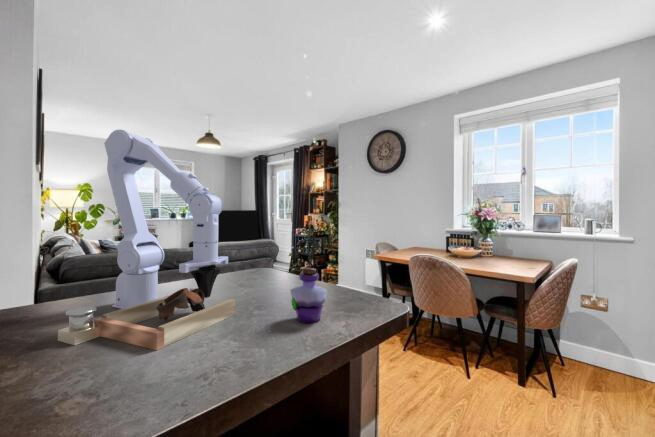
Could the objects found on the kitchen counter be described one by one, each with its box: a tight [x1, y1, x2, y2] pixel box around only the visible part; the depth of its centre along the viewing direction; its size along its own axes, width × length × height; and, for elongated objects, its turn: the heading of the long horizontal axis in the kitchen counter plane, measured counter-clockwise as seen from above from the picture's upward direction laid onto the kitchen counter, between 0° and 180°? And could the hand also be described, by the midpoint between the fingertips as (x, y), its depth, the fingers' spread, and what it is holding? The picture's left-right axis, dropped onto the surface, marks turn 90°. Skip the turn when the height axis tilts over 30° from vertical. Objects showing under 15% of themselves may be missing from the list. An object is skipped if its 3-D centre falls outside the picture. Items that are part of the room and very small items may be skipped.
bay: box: [93, 294, 237, 351], centre depth 67 cm, size 17×22×4 cm
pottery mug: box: [156, 287, 206, 321], centre depth 70 cm, size 12×10×8 cm
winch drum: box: [57, 305, 102, 346], centre depth 59 cm, size 5×5×5 cm
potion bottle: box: [290, 267, 328, 325], centre depth 72 cm, size 9×9×12 cm
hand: (205, 296), depth 77 cm, fingers closed
